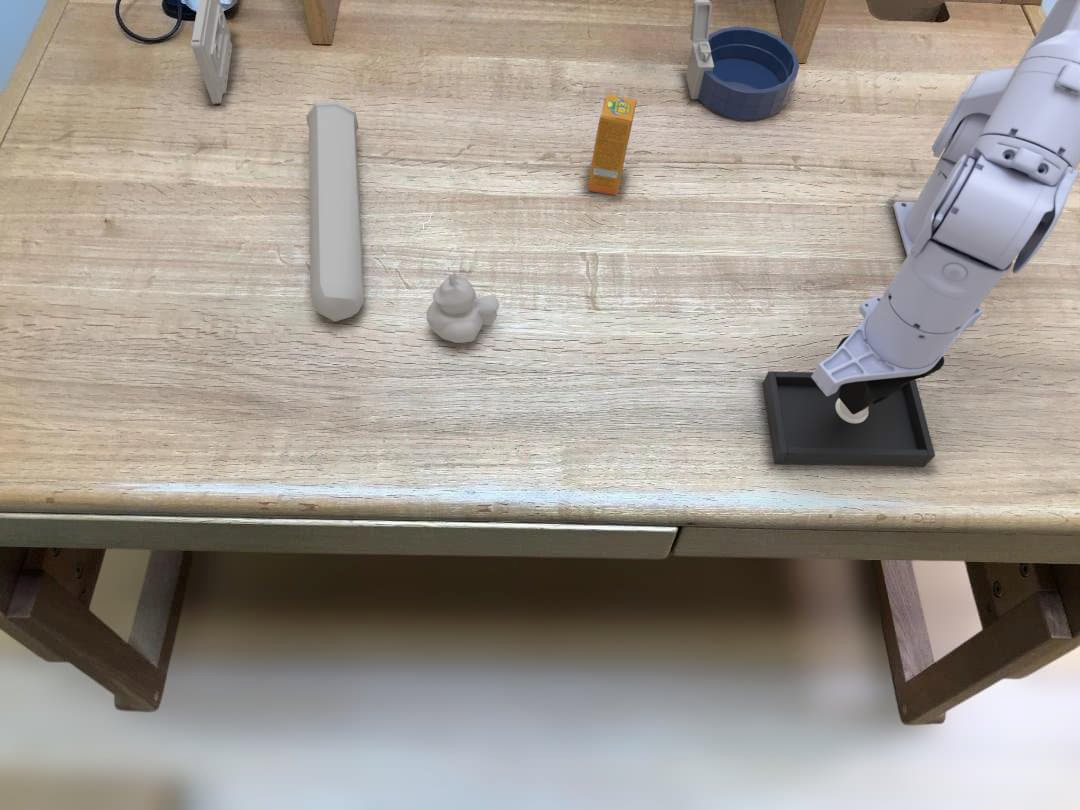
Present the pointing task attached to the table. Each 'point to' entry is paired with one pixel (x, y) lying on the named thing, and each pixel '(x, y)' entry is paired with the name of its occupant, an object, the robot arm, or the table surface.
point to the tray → (843, 426)
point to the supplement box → (611, 144)
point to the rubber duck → (460, 310)
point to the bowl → (748, 73)
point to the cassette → (212, 47)
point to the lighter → (699, 47)
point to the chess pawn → (847, 415)
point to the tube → (334, 211)
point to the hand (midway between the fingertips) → (859, 399)
